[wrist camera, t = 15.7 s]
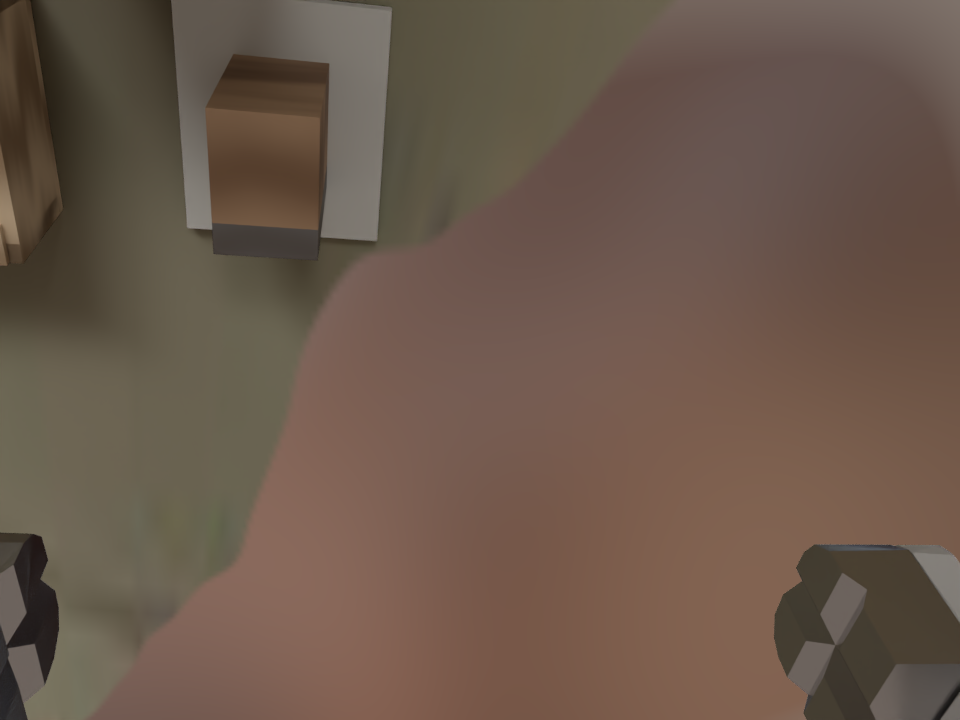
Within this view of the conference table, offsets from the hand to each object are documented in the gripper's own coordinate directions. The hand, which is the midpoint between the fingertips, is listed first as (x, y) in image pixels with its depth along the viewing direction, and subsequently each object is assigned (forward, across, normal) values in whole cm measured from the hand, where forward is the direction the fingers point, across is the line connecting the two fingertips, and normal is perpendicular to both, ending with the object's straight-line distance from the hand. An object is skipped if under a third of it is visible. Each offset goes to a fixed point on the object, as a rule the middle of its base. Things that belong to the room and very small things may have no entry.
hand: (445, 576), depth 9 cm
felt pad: (+37, +5, +8) cm, 38 cm away
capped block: (+36, +5, +8) cm, 37 cm away
